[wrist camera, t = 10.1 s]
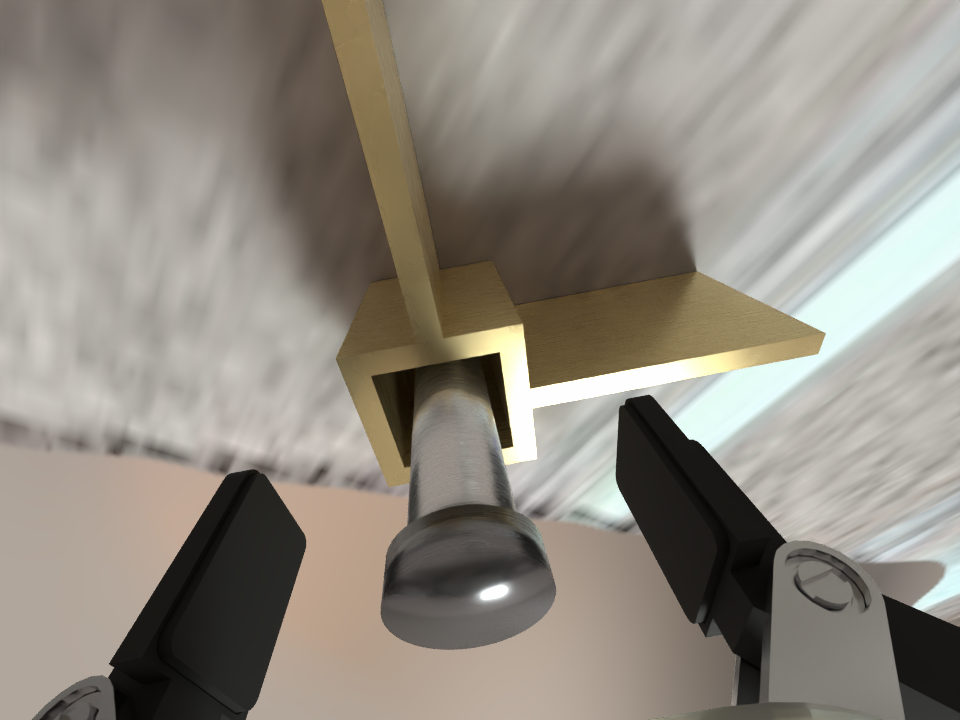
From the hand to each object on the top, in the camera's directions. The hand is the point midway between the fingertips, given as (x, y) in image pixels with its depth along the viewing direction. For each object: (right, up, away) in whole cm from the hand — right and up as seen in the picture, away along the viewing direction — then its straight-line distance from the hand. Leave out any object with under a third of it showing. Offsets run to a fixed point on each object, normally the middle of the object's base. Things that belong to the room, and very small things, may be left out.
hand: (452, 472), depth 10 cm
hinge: (+3, +10, +6) cm, 12 cm away
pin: (-1, +5, +8) cm, 10 cm away
